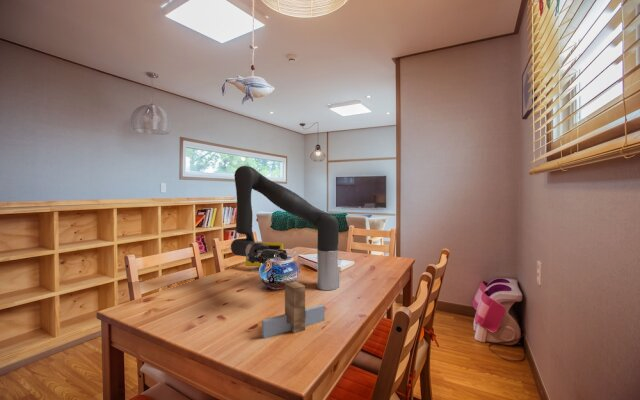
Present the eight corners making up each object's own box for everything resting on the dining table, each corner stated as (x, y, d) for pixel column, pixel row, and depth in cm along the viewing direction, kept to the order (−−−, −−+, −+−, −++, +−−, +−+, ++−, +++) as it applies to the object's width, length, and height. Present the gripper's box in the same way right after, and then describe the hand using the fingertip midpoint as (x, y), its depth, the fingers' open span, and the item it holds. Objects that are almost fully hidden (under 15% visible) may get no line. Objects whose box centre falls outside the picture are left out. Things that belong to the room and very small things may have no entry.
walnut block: (295, 322, 101) (295, 281, 100) (305, 329, 96) (305, 286, 95) (284, 325, 98) (284, 283, 98) (294, 333, 93) (294, 288, 93)
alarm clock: (244, 271, 163) (244, 242, 163) (250, 267, 171) (250, 240, 170) (280, 273, 160) (280, 243, 159) (284, 269, 167) (284, 241, 167)
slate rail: (321, 318, 104) (321, 304, 104) (324, 320, 102) (324, 305, 102) (262, 336, 91) (261, 319, 91) (264, 338, 90) (264, 321, 90)
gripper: (240, 245, 118) (256, 251, 105) (273, 240, 126) (292, 245, 113) (241, 264, 118) (257, 272, 105) (274, 258, 126) (293, 265, 113)
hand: (275, 258), depth 109 cm, fingers open, 8 cm apart
